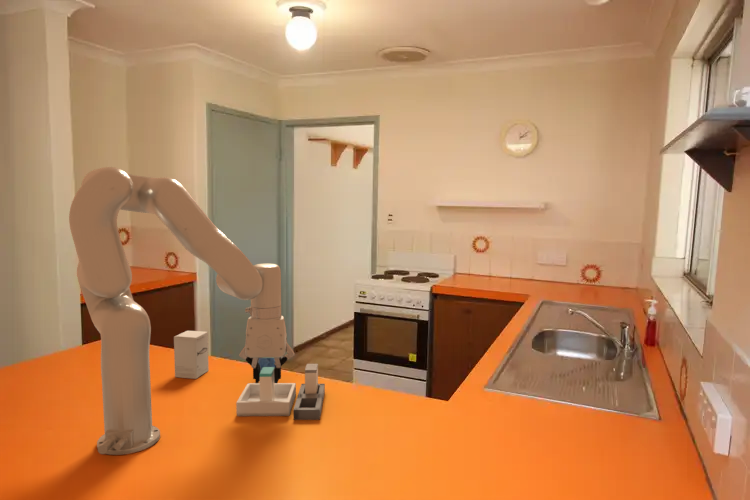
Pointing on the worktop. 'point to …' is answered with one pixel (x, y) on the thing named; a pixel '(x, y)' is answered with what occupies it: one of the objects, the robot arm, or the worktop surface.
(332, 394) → the worktop surface
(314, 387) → the block
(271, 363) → the grapes
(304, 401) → the frame
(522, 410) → the worktop surface
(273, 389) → the block
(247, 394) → the tray
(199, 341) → the supplement box
